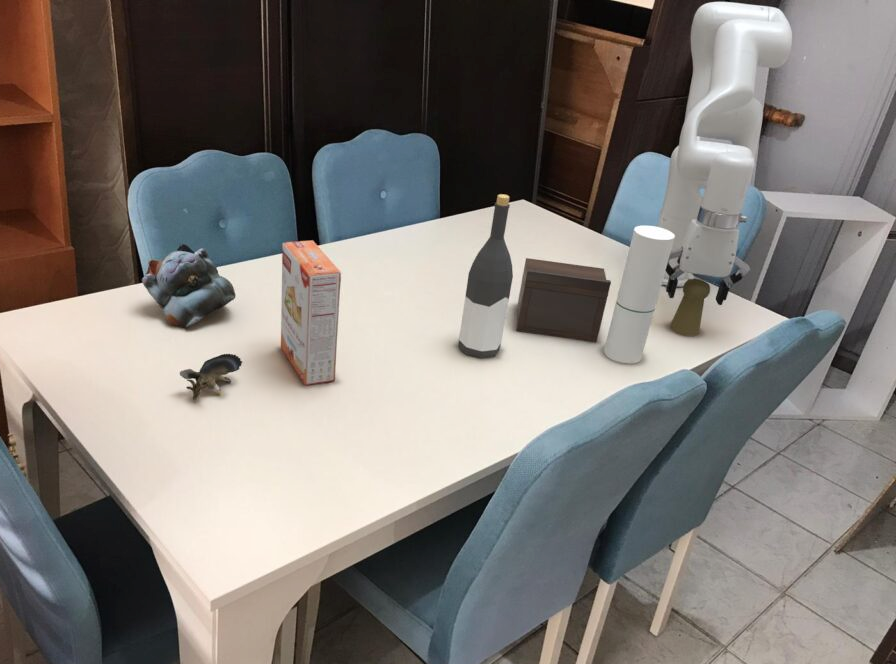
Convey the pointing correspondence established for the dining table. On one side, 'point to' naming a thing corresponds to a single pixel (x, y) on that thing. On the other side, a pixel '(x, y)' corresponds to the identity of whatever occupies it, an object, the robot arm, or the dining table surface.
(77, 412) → the dining table surface
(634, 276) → the cylindrical container
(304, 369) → the cracker box
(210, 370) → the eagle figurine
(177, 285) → the lucky cat figurine
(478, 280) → the wine bottle
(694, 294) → the olive brown pepper mill
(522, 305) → the dark wooden chest
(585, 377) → the dining table surface
